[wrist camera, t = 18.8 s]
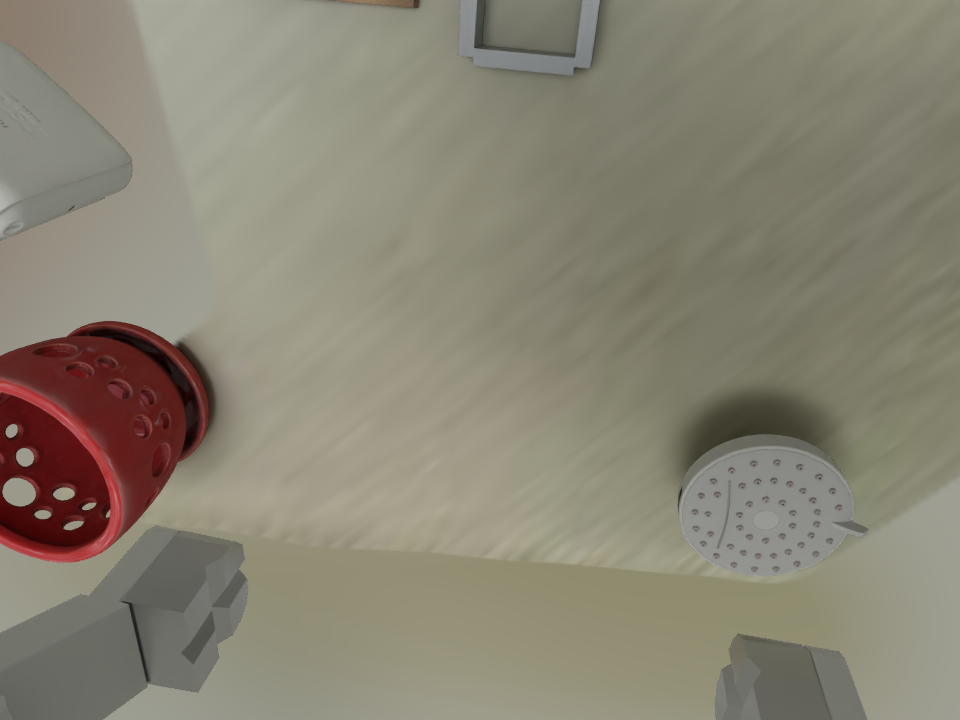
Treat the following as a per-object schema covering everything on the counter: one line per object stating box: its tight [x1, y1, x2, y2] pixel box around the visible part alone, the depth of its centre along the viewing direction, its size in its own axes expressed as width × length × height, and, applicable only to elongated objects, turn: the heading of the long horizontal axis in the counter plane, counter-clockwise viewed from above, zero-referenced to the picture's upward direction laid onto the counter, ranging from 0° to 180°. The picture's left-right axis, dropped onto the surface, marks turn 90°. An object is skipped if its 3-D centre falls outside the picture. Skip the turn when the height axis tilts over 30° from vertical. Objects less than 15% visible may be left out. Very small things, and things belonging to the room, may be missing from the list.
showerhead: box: [678, 434, 868, 576], centre depth 41 cm, size 9×7×10 cm
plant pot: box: [0, 321, 209, 562], centre depth 45 cm, size 13×13×12 cm
